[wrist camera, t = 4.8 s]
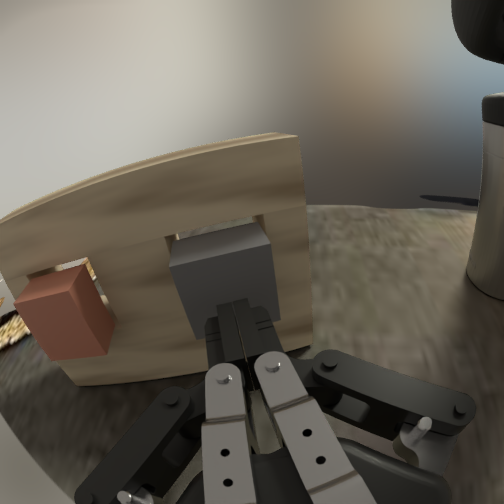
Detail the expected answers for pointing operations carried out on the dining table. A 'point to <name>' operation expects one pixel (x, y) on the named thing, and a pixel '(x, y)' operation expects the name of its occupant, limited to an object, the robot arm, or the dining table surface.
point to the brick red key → (66, 314)
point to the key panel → (165, 246)
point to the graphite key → (224, 272)
